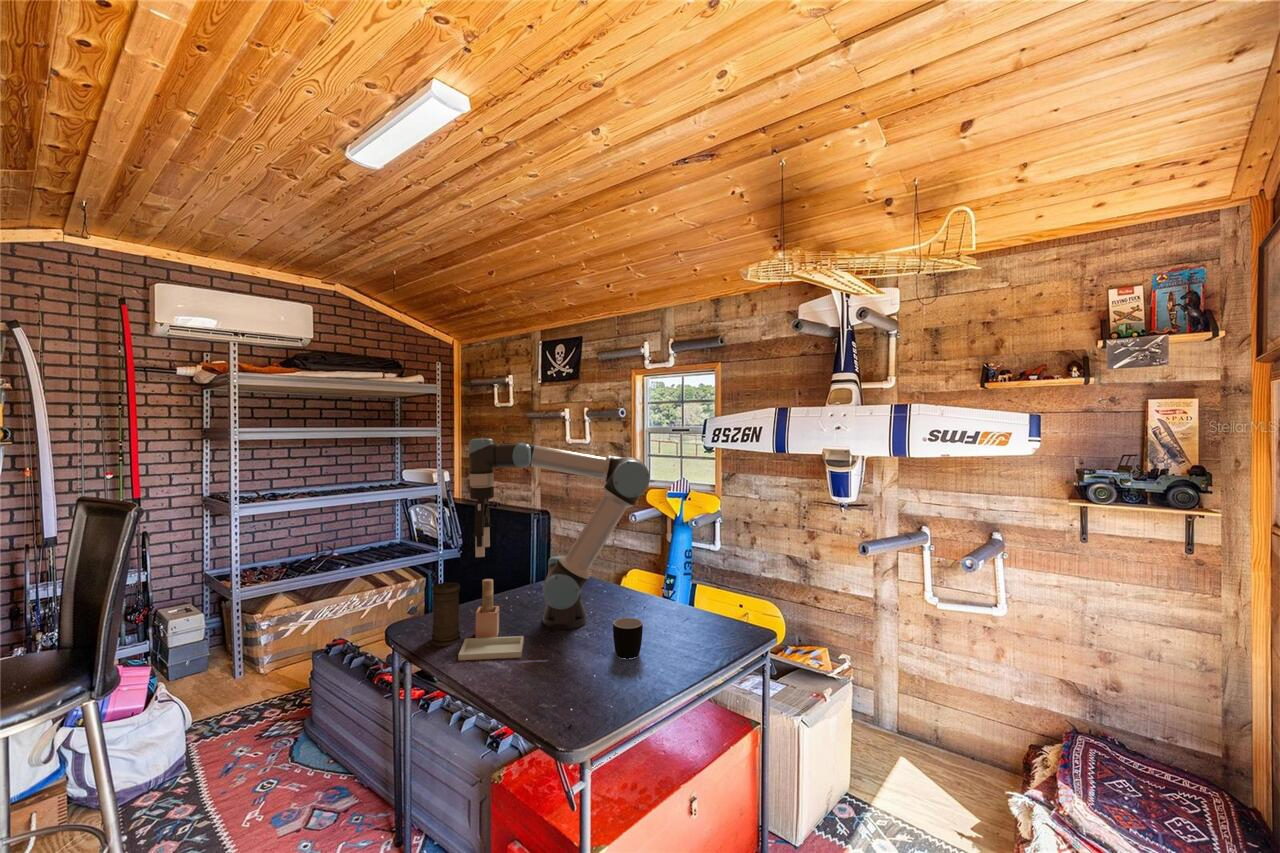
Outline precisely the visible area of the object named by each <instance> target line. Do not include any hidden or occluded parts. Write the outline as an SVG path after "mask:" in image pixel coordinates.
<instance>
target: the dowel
mask: <svg viewBox="0 0 1280 853" xmlns="http://www.w3.org/2000/svg"><path fill="white" fill-rule="evenodd" d="M481 592H482V593H481V594H482V595H481V597H482V600H481V601H482V604H481V605H482V606H481V607H482V613H484V612H493V606H494V579H492V578H485V579H482V591H481Z"/></svg>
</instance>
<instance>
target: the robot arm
mask: <svg viewBox="0 0 1280 853" xmlns="http://www.w3.org/2000/svg"><path fill="white" fill-rule="evenodd" d="M493 441H494V440H493V439H492V438H473V439H471V440H469V442H468V464H469V466H468V467H469V470H468V472H469V475H468V476H467V480H469V486H470V488H469V498H470V500H476V503H475V505H474V509H475V510H474V513H475V514H474V528H473V529H474V530H473V533H472V537H473V538H474V540H475V541H474V544H475V546H474V547H475V549H474V550H475V551H474V552H475V554H474V555H475V558H483V557H484V558H485V556H486V554H485V553H486V550H485V549H486V548H490V547H491V540H490V539H491V538H490V534H491V533H490V531H491V530H490V527H493V526H492V525H493V524H492V523H491V518H490V503H489V499H490V500H491V499H493V498H494V497H495V491H494V489H495V488H494V486H493V485H494V484H495V481H494V477H495V476H494V474H495V473H494V468H518V469H519V468H527V467H533V468H538V469H544V470H550V471H555V472H561V473H566V474H572V475H576V476H577V475H578V476H583V477H588V478H592V479H593V478H595V479H601V480H602V481H603V482H604V483H605V485H604V486H603V490H604V491H603V492H604V495H603V496H602V498H601V500H600V501H599V503H598V505H597V506H596V508H595V510H594V511H593V513H592V514H591V515H590V517H589V519H588V521H587V522H586V523H585V525H584V527H583V528H582V530H581V531H580V533H579V534H578V537H577V538H576V540H575V541H574V543H573V544H572V546H571V548H570V550H568V552H567V553H566V555H557V556H551V557H550V558H549V559H548V563H547V566H548V567H547V569H548V571H547V572H548V573H547V576H546V577H545V581H544V582H543V585H542V597H543V599H544V601H545V603H546V605H545V609H544V611H543V616H542V623H543V625H545V626H546V627H549V628H550V629H553V630H572V629H576V628H580V627H582V626H584V625H585V624H586V622H587V612H586V610H585V607H584V602H583V600H582V589H583V587H584V586H585V585H586V583H587V582H588V580H589V579H590V572H589V570H590V568H591V566H593V564H594V562H595V560H596V558H597V557H598V555H599V553H600V552H601V551H602V548H603V547H604V545H605V544H606V543H607V541H608V539H609V537H610V536H611V534H612V533H613V531H614V530H615V528H616V526H617V524H618V523H619V522H620V520H621V518H622V517H623V515H624V514H625V513H626V510H627V509H629V508H632V507H634V506H635V505H636V503H637V501H638V500H639V498H640V497H641V495H642V494H644V493H645V492H646V490H647V489H648V487H649V485H650V481H651V477H650V471H649V470H648V469H649V468H648V467H647V466H646V465H645V464H644V463H643V462H642V460H640V459H638V458H636V457H629V456H628V457H627V456H626V457H624V456H615V455H614V456H613V455H607V457H603V456H597V455H592V454H588V453H587V454H586V453H580V452H575V451H569V450H564V449H557V448H554V447H553V448H552V447H547V446H542V445H534V444H531V443H530V444H529V443H527V442H522V441H517V442H516V441H515V442H514V443H511V444H510V443H509V444H507V443H505V444H494V442H493Z"/></svg>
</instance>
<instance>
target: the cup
mask: <svg viewBox="0 0 1280 853" xmlns="http://www.w3.org/2000/svg"><path fill="white" fill-rule="evenodd" d="M499 633H500V605H493V612H484V613H482V606H478V608H477V610H476V612H475V638H490V637H499Z"/></svg>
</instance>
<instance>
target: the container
mask: <svg viewBox="0 0 1280 853" xmlns="http://www.w3.org/2000/svg"><path fill="white" fill-rule="evenodd" d="M460 589H461V585H460V584H459V583H458V582H454V581H453V582H452V581H449V582H448V581H447V582H440V583H436V584H434V585H432V588H431V590H432V594H433V598H432V602H433V603H432V606H433V608H432V609H433V612H432V614H433V616H432V617H433V618H432V619H433V620H432V622H433V623H432V634H431V640H430V643H431V644H432V645H434V646H439V647H446V646H451V645H455V644H458V643H459V642H460V641H461V639H462V638H461V631H460V620H459V608H460V607H459V606H460V604H459V603H460V602H459V601H460V596H459V594H460V593H459V592H460Z"/></svg>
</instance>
